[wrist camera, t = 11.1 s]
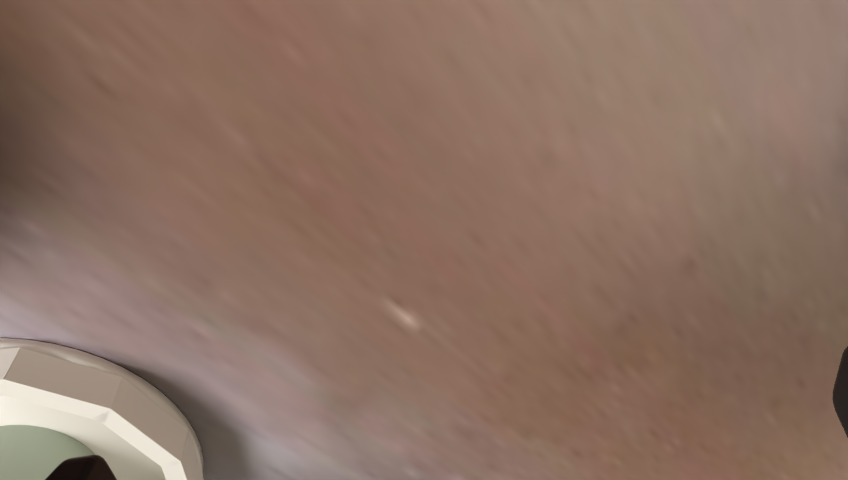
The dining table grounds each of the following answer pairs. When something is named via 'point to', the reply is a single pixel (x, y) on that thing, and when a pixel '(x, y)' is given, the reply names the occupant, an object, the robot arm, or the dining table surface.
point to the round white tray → (98, 410)
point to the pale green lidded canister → (35, 451)
